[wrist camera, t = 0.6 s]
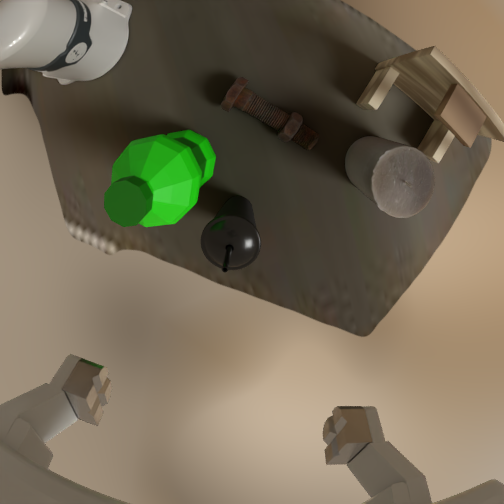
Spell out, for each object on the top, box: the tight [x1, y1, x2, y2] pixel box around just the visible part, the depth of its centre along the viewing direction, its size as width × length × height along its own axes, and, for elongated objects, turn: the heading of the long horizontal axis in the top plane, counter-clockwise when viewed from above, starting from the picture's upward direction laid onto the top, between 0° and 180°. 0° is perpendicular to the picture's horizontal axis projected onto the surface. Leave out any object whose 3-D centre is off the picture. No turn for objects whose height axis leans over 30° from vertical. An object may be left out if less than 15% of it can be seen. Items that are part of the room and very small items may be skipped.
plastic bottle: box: [104, 130, 216, 227], centre depth 35 cm, size 10×10×25 cm
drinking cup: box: [201, 196, 261, 272], centre depth 41 cm, size 8×8×20 cm
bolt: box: [221, 77, 319, 150], centre depth 41 cm, size 6×5×15 cm
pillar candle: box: [345, 136, 435, 218], centre depth 38 cm, size 10×10×15 cm
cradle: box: [356, 46, 504, 163], centre depth 32 cm, size 9×16×18 cm, turn 61°
